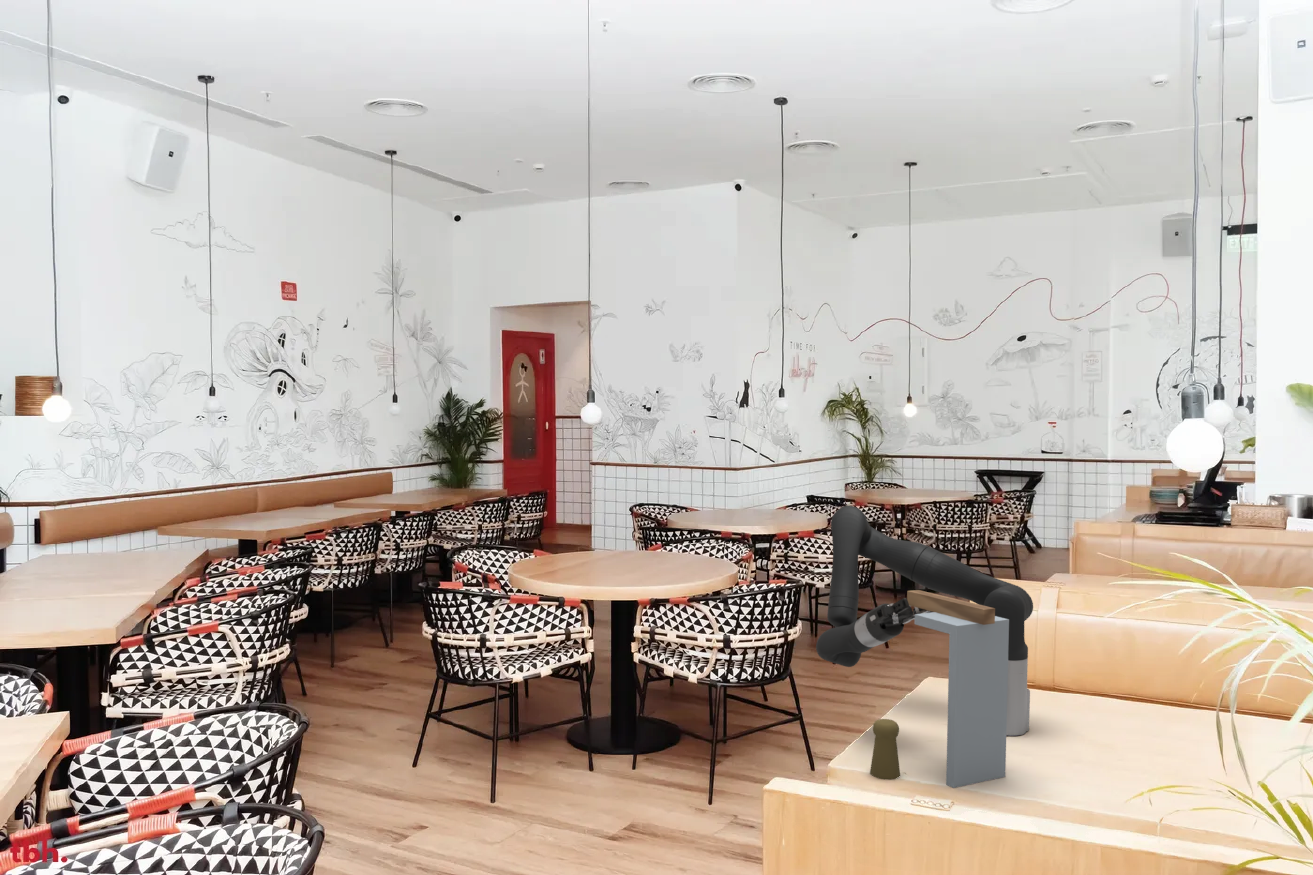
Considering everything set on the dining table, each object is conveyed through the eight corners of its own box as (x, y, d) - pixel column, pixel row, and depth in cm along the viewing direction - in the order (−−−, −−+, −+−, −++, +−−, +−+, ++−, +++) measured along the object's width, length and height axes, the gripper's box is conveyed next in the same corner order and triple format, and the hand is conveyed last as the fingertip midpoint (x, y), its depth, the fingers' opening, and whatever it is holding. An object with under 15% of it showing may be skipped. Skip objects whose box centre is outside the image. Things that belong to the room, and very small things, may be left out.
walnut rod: (917, 603, 226) (918, 589, 226) (994, 623, 207) (995, 608, 207) (907, 604, 225) (907, 590, 225) (983, 624, 205) (983, 609, 205)
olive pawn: (900, 780, 209) (901, 726, 209) (869, 778, 210) (870, 723, 210) (899, 770, 215) (900, 717, 214) (869, 767, 216) (870, 715, 216)
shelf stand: (962, 758, 222) (965, 608, 221) (1005, 776, 212) (1009, 619, 211) (911, 768, 216) (914, 614, 215) (953, 788, 205) (957, 625, 204)
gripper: (848, 612, 234) (890, 586, 221) (897, 607, 240) (941, 581, 228) (858, 645, 230) (902, 620, 218) (908, 638, 237) (953, 614, 224)
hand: (922, 600), depth 223 cm, fingers open, 8 cm apart
